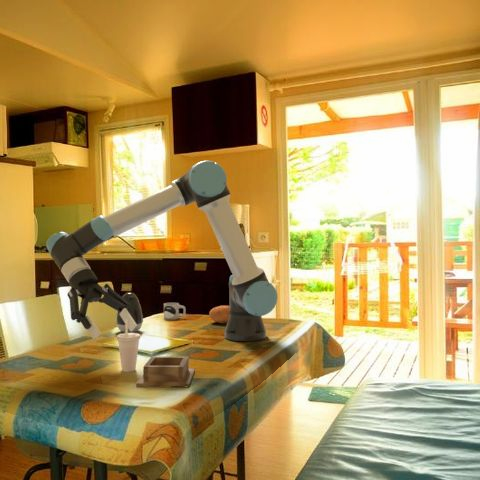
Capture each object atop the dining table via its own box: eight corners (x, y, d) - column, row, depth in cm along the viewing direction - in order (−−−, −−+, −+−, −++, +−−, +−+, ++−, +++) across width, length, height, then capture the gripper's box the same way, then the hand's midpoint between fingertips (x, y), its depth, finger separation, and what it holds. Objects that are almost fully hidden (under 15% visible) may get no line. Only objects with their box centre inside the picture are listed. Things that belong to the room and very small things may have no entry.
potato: (231, 325, 194) (231, 307, 194) (206, 324, 197) (206, 306, 197) (238, 321, 203) (238, 304, 203) (213, 320, 206) (213, 303, 206)
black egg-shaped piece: (119, 335, 176) (119, 294, 176) (113, 330, 185) (113, 291, 185) (146, 332, 181) (146, 293, 180) (139, 328, 190) (138, 290, 190)
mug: (161, 319, 209) (161, 304, 209) (166, 317, 216) (166, 302, 216) (183, 320, 207) (183, 305, 207) (187, 317, 214) (187, 302, 214)
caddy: (194, 371, 129) (194, 355, 129) (188, 386, 116) (188, 368, 116) (147, 371, 129) (147, 355, 129) (136, 386, 116) (135, 368, 116)
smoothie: (119, 367, 134) (118, 317, 133) (142, 366, 134) (141, 317, 134) (115, 373, 127) (114, 321, 127) (139, 372, 128) (138, 321, 128)
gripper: (105, 281, 152) (140, 332, 144) (36, 288, 130) (73, 349, 123) (117, 265, 149) (153, 317, 141) (49, 270, 127) (87, 331, 120)
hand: (116, 332), depth 132 cm, fingers open, 13 cm apart
